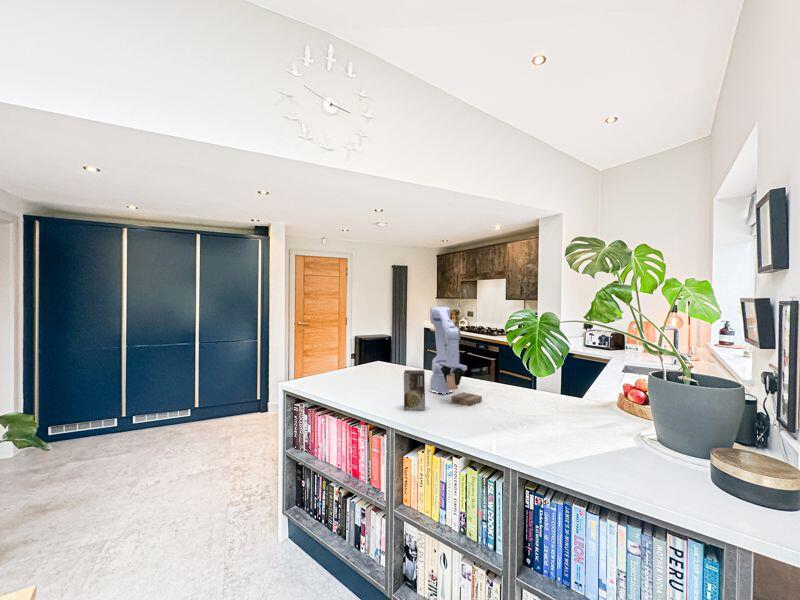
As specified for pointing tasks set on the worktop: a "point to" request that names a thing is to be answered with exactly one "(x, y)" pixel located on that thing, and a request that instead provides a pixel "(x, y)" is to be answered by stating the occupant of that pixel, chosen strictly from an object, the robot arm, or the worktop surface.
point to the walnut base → (466, 398)
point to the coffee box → (414, 390)
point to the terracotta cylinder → (451, 382)
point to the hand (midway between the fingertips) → (452, 383)
